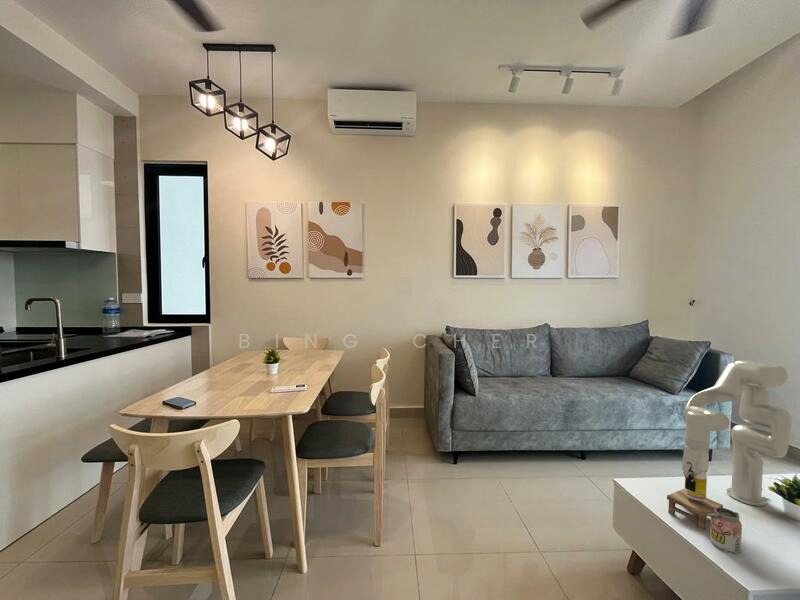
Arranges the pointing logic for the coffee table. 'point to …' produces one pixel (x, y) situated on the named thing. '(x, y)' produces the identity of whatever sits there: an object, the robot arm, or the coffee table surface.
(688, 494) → the supplement bottle
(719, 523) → the pink labeled can
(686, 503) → the footstool
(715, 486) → the coffee table surface
